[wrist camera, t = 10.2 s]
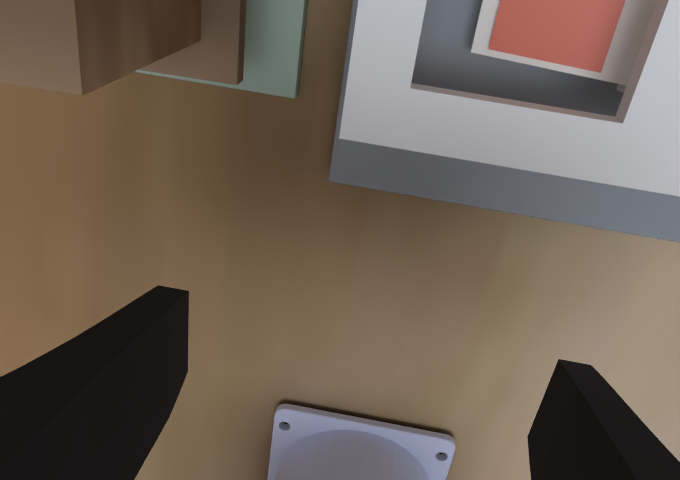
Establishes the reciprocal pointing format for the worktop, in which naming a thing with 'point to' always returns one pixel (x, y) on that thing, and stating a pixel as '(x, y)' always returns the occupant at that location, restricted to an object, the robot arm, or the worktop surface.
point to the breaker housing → (508, 122)
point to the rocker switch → (566, 35)
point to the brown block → (119, 41)
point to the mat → (269, 48)
